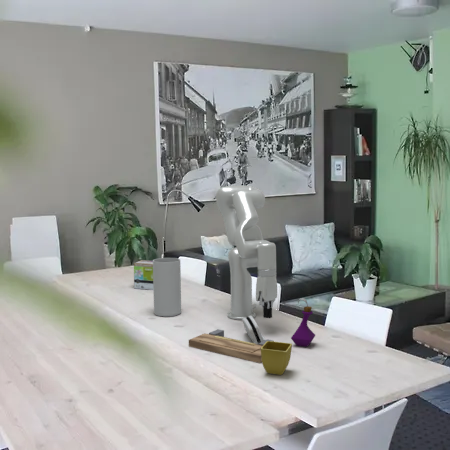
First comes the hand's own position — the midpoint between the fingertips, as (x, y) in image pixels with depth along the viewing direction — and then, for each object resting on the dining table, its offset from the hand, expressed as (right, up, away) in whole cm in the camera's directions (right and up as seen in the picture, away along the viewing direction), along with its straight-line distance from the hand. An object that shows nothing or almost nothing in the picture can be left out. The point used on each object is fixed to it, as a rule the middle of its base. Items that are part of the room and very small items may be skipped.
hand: (267, 317), depth 233 cm
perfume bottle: (+12, -8, -15) cm, 21 cm away
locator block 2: (-2, -9, -20) cm, 22 cm away
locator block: (-21, -7, -7) cm, 23 cm away
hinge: (-6, -8, -7) cm, 12 cm away
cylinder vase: (-44, -3, +32) cm, 54 cm away
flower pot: (0, -11, -43) cm, 44 cm away
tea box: (-59, +2, +85) cm, 104 cm away
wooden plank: (-15, -9, -21) cm, 27 cm away
